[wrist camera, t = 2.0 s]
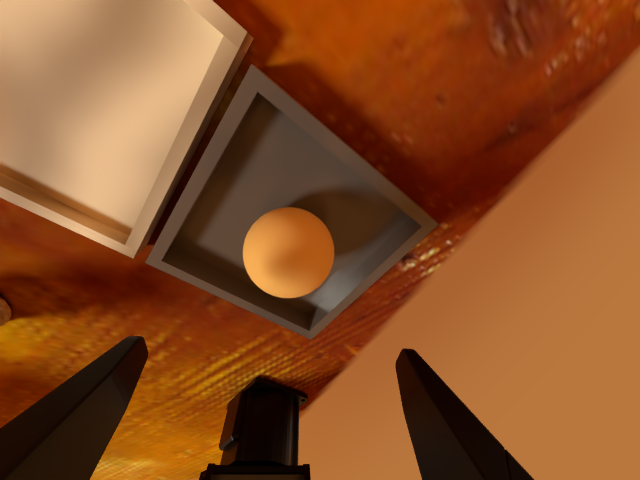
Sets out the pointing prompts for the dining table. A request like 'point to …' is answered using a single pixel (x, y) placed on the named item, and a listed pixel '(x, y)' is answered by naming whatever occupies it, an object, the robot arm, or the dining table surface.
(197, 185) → the dish
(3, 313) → the sprinkles bottle
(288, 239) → the ball
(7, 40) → the tray
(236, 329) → the dining table surface
